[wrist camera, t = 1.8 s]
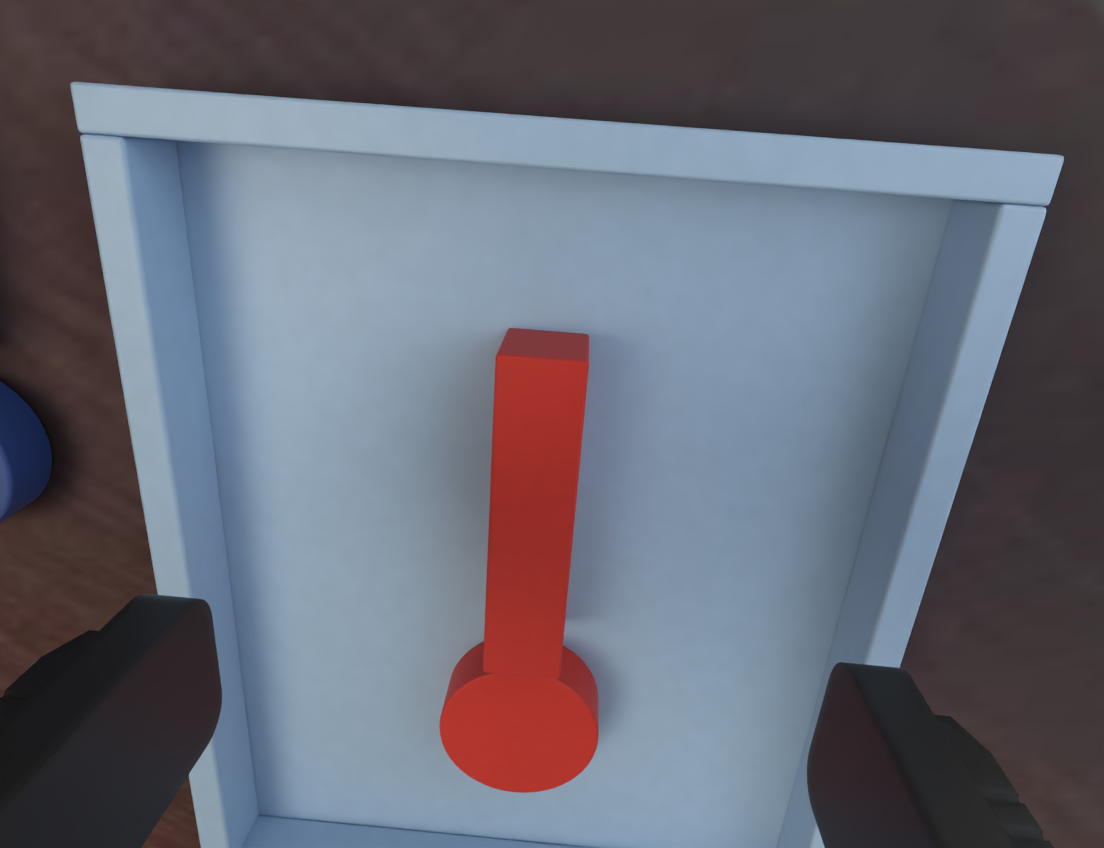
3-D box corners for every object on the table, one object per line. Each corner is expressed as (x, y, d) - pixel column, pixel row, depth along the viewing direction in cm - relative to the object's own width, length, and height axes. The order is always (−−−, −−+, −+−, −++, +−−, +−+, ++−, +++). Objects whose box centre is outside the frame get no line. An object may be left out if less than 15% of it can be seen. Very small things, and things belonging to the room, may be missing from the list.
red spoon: (456, 322, 13) (435, 349, 11) (641, 337, 13) (649, 366, 11) (448, 743, 16) (432, 810, 15) (591, 756, 16) (591, 825, 15)
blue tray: (148, 91, 12) (67, 81, 10) (991, 154, 12) (1067, 155, 10) (244, 813, 18) (206, 887, 17) (787, 866, 18) (810, 948, 16)
